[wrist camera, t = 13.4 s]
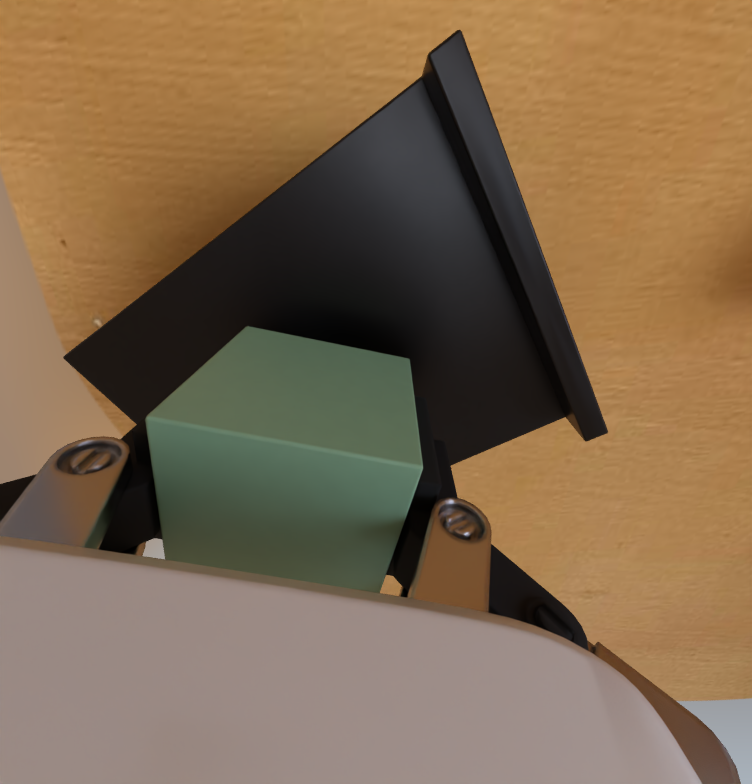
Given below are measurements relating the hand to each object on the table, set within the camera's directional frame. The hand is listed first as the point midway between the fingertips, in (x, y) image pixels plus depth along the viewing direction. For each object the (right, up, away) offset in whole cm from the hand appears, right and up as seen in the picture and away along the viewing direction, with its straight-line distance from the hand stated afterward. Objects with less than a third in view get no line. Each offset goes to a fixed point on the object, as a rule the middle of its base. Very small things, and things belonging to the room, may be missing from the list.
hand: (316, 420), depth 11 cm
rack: (0, +4, +8) cm, 9 cm away
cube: (0, 0, +1) cm, 1 cm away
